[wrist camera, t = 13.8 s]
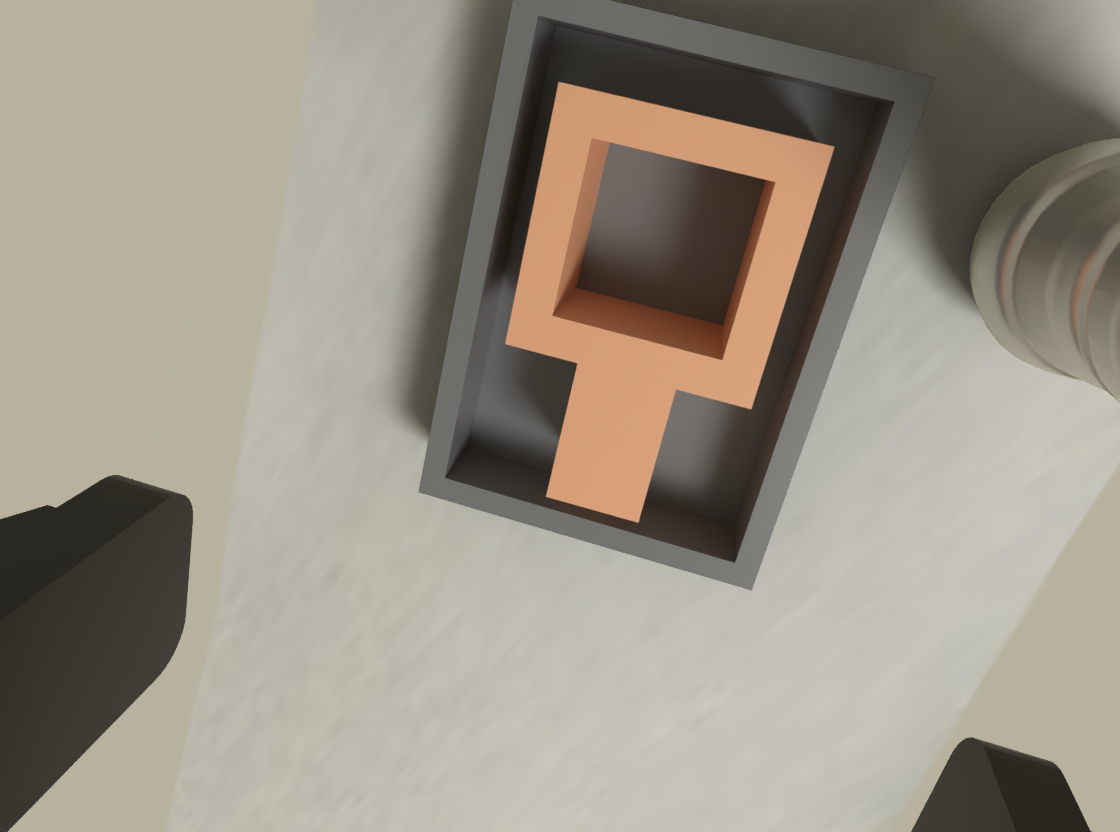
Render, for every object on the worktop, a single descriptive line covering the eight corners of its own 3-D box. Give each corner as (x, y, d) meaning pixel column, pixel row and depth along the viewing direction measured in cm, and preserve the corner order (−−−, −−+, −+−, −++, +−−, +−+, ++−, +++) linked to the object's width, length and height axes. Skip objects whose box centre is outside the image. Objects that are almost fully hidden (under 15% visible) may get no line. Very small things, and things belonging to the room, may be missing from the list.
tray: (541, -6, 28) (516, -23, 25) (909, 82, 27) (935, 77, 24) (448, 455, 34) (418, 491, 30) (748, 542, 33) (751, 590, 29)
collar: (583, 87, 28) (558, 81, 24) (818, 142, 27) (834, 146, 23) (510, 430, 32) (477, 477, 28) (711, 485, 31) (709, 542, 27)
